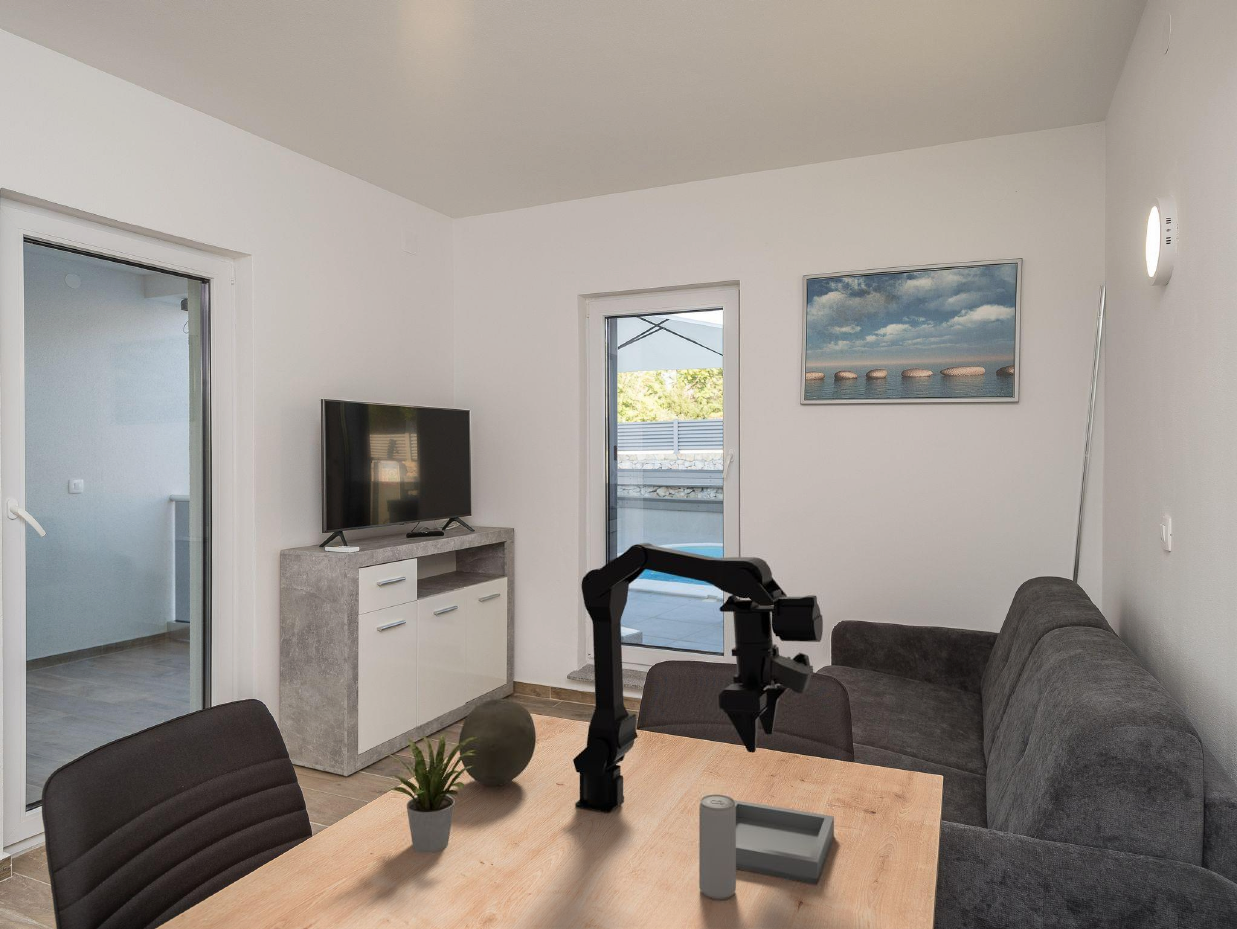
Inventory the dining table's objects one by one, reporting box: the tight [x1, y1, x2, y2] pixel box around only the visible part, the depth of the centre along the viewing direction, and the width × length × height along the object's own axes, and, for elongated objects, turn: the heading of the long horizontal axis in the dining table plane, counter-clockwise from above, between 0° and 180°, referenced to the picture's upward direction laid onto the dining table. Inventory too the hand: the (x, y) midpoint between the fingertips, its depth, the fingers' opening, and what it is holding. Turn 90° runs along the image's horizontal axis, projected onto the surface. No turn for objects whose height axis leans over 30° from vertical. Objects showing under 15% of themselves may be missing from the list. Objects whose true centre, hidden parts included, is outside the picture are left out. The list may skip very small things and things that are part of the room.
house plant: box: [385, 732, 477, 854], centre depth 120 cm, size 14×14×16 cm
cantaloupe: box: [458, 698, 537, 787], centre depth 143 cm, size 14×14×15 cm
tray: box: [733, 799, 835, 886], centre depth 118 cm, size 16×16×3 cm
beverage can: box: [698, 794, 737, 901], centre depth 106 cm, size 5×5×12 cm
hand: (760, 742), depth 123 cm, fingers open, 9 cm apart
